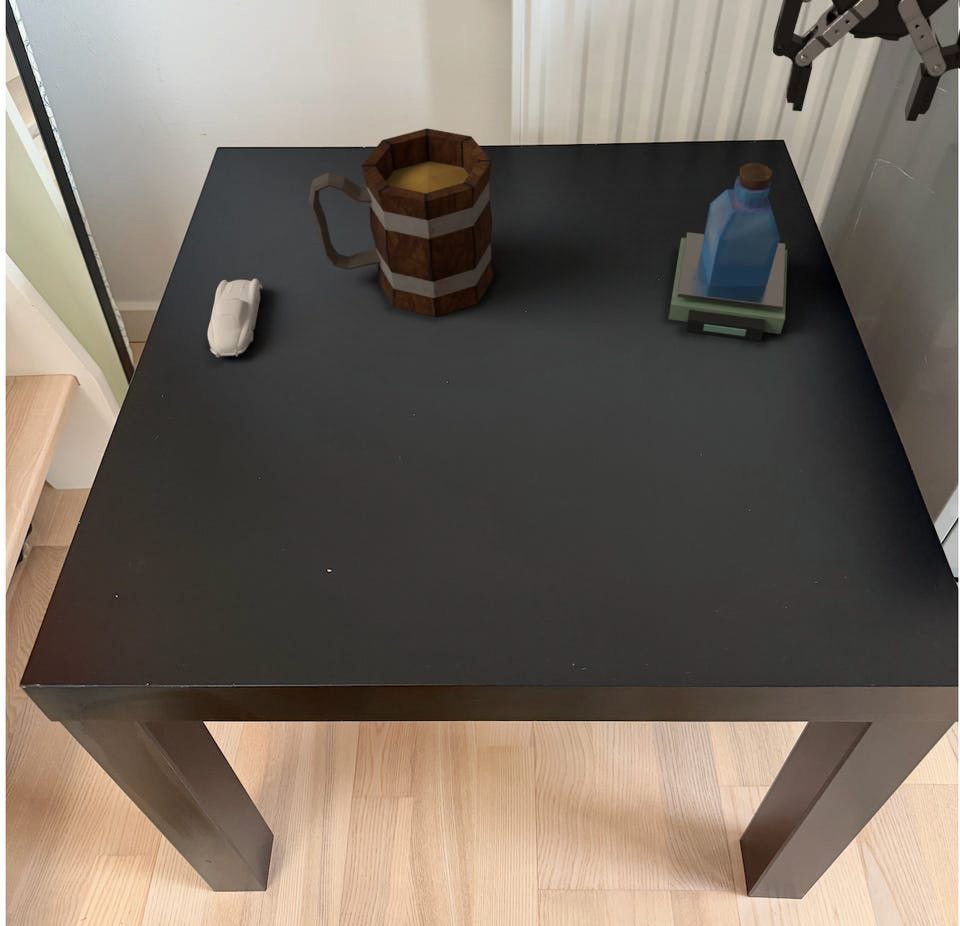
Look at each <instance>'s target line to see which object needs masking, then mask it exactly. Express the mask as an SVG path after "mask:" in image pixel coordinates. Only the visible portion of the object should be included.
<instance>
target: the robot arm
mask: <svg viewBox="0 0 960 926" xmlns="http://www.w3.org/2000/svg"><path fill="white" fill-rule="evenodd" d="M811 1H812V0H782V2H781V7H780V10H779V14H778V17H777V21H776V25H775V29H774V32H773V40H772V41H773V42H772V53H773V55H775V56H777V57H786V58H788V59H790V61H791V67H790V72H789V76H788V79H787V85H786V92H785V94H786V95H785V98H786V103H787V104H792V108H791V109H792V112H802V111H803V109H804V108H803V107H804V104H805V99H806V95H807V91H808V87H809V83H810V80H811V75H812V70H813V61H814V60H815V59H817V58H818V57H819V56H820V55H821V54H822V53H823V52H824V51H825V50H827V49H829V48H831V47H834V46H835V44H836V43H838V42H839V41H841V39H842V38H843V37H844V36H845V35H846V34H848V33H849V34H850V35H853V39H862V40H866V39H872V38H879V39H882V40H885V41H891V42H899V41H900V39H901V38H902V39H903V38H905V37H907V36H910V38H911V40H912V42H913V45H914V46H915V49H916V51H917V53H918V54H919V55H920V58H921V60H922V62H919V64H918V67H917V71H916V73H915V76H914V79H913V82H912V85H911V88H910V90H909V94H908V97H907V100H906V102H905V103H906V104H905V106H904V118H905V121H907V122H917V120H918V117H919V115H926V113H927V112H928V111H929V110H930V107H931V105H932V102H933V100H934V96H935V94H936V91H937V88H938V85H939V83H940V79H941V77H942V76H943V75H944V74H945V73H947V72H948V71H953V70H957V69H959V70H960V29H958V34H957V36H956V40H955V43H953V44H950V45H946V46H943V45H942V43H941V41H940V38H939V36H938V34H937V31H936V29H935V25H934V23H933V20H932V18H931V16H932V15H934V14H935V13H936V12H937V11H938V10H940V8H942V7H943V6H944V5H945V4H946V3H947V2H949V0H831V2H832V5H830V6H829V7H828V8H827V9H826V10H825V11H824V12H823V13H822V14H821V15H820V16H819V18H818V19H817V21H816V22H815V23H814V24H813V25H812V26H810V28H809V29H808V30H807V31H806V32H804V34H803V35H799V34H797V33H795V30H796V27H797V23H798V20H799V17H800V13H801V10H802V6H803V3H804V4H805V3H810V2H811ZM958 7H959V8H960V0H958Z"/></svg>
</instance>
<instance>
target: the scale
mask: <svg viewBox="0 0 960 926" xmlns="http://www.w3.org/2000/svg"><path fill="white" fill-rule="evenodd" d="M685 241H686V237H681V239H680V245H679V250H678V256H677V262H676V269H675V275H674V281H673V289H672V294H671V300H670V308H669V314H668V320H671V321H680V322H685V323H686V326H685V332H686V333H695V334H703V335H709V336H710V335H711V336H715V337H716V336H717V337H724V338H725V337H726V338H730V339H731V338H732V339H738V340H739V339H740V340H747V341H753V342H762V340H763V336H764V334H765V333H770V334H777V335H781V333H782V330H783V327H784V324H785V320H786V303H787V278H788V277H787V276H788V249H785V265H784V292H783V308H782V311H780V310H773V309H765V308H757V307H749V306H742V305H734V304H726V303H718V302H711V301H703V300H695V299H687V298H680V297H677V295H678V288H679V282H680V275H681V268H682V262H683V255H684V248H685Z"/></svg>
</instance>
